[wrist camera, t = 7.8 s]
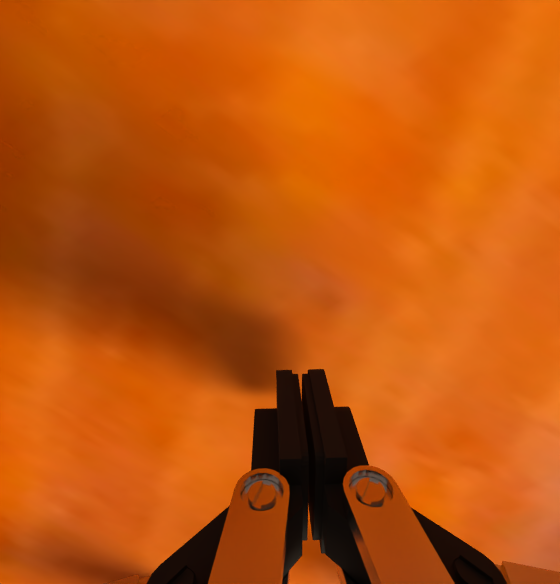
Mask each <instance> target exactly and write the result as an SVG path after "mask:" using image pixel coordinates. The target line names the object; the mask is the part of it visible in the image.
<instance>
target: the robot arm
mask: <svg viewBox="0 0 560 584" xmlns="http://www.w3.org/2000/svg"><path fill="white" fill-rule="evenodd" d="M276 378H277V408H275V409H255V416H254V433H253V450H252V467H251V471H249V472H248V473H246V474H244V475H243V476H242V477H241V478H240V479H239V480H238V482H237V484H236V486H235V489H234V492H233V496H232V499H231V503H230V506H229V507H228V508H226V509H225V510H224V511H223V512H222V513H221V514H219V515H218V516H217V517H216V518H215V519H214V520H212V521H211V522H210V523H209V524H208V525H207V526H205V527H204V528H203V529H202V530H201V531H199V532H198V533H197V534H196V535H195V536H194V537H192V538H191V539H190V540H189V541H188V542H187V543H185V544H184V545H183V546H182V547H181V548H179V549H178V550H177V551H176V552H175V553H174V554H172V555H171V556H170V557H169V558H168V559H167V560H165V561H164V562H163V563H162V564H161V565H160V566H159V567H158V568H157V569H156V570H155V571H154V572H153V573H152V575H151V576H148V577H144V578H141V579H139V576H138V574H137V575H133V576H129V577H126V578H122V579H119V580H115V581H112V582H108V583H105V584H289V570H290V569H291V568H292V566H293V565H294V564H295V563H296V562H297V561H298V559H299V558H300V557H301V556H302V540H307V528H308V504H309V513H310V522H311V530H312V538H313V540H320V547H321V553H325V554H326V555H327V556H328V557H329V558H330V559H332V560H333V561H334V562H335V563H336V564H337V570H338V576H339V579H340V583H341V584H560V572H556V571H551V570H546V569H541V568H536V567H531V566H526V565H521V564H516V563H511V562H506V561H502V565H501V566H500V565H495V564H494V563H493V562H492V561H491V560H490V559H488V558H487V557H486V556H485V555H483V554H482V553H481V552H479V551H477V550H476V549H474V548H473V547H471V546H470V545H468V544H467V543H465V542H463V541H462V540H460V539H459V538H457V537H456V536H454V535H453V534H451V533H450V532H448V531H446V530H445V529H443V528H442V527H440V526H439V525H437V524H436V523H434V522H433V521H431V520H429V519H428V518H426V517H425V516H423V515H422V514H420V513H419V512H417V511H416V510H414V509H412V508H411V507H410V506H409V504H408V502H407V500H406V499H405V497H404V495H403V493H402V492H401V490H400V488H399V486H398V485H397V483H396V482H395V480H394V479H393V478H392V477H391V476H390V475H389V474H388V473H386V472H385V471H383V470H381V469H379V468H377V467H373V466H369V464H368V461H367V458H366V455H365V452H364V449H363V446H362V443H361V440H360V437H359V434H358V431H357V428H356V425H355V422H354V419H353V416H352V413H351V410H350V408H349V407H334V405H333V401H332V398H331V394H330V390H329V386H328V383H327V379H326V375H325V371H324V369H312V370H308V374H302V401H301V393H300V386H299V379H298V374H292V370H276Z"/></svg>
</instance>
